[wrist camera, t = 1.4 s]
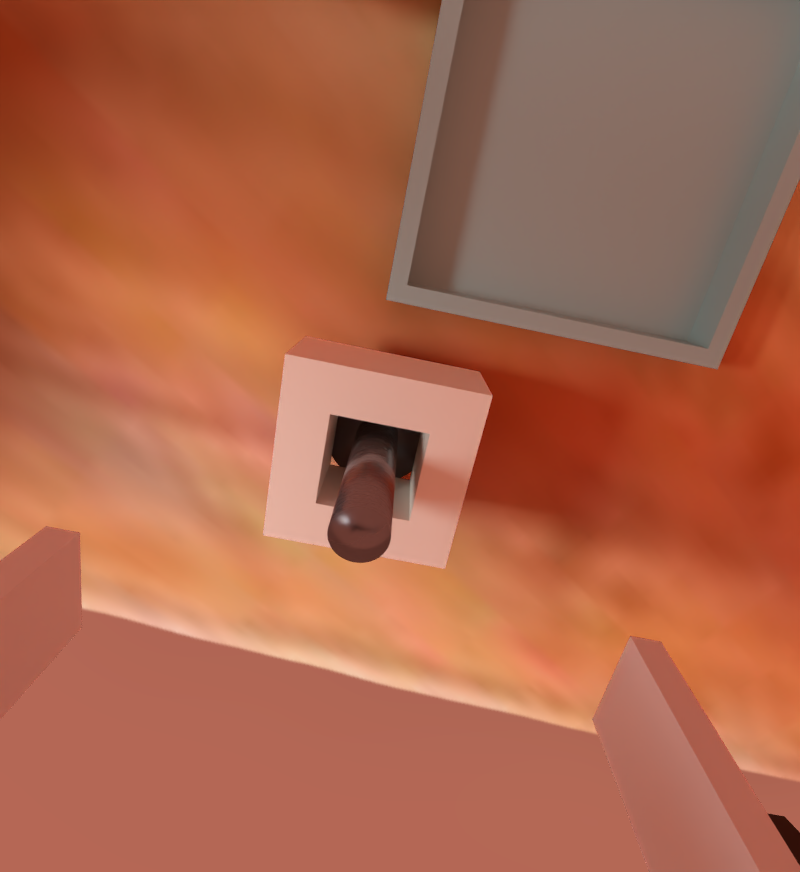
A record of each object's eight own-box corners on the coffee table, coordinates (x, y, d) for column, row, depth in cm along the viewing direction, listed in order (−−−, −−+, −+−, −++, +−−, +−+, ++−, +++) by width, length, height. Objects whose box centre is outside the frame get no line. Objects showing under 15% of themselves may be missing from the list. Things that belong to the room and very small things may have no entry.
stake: (327, 448, 28) (271, 586, 17) (342, 361, 26) (289, 447, 15) (416, 466, 28) (420, 613, 17) (437, 380, 26) (455, 479, 15)
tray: (388, 294, 25) (386, 299, 23) (465, -117, 20) (472, -164, 17) (690, 358, 26) (717, 369, 23) (846, -21, 20) (900, -54, 18)
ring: (284, 492, 26) (262, 535, 22) (306, 335, 23) (285, 353, 19) (440, 522, 26) (444, 568, 22) (479, 371, 23) (492, 395, 19)
